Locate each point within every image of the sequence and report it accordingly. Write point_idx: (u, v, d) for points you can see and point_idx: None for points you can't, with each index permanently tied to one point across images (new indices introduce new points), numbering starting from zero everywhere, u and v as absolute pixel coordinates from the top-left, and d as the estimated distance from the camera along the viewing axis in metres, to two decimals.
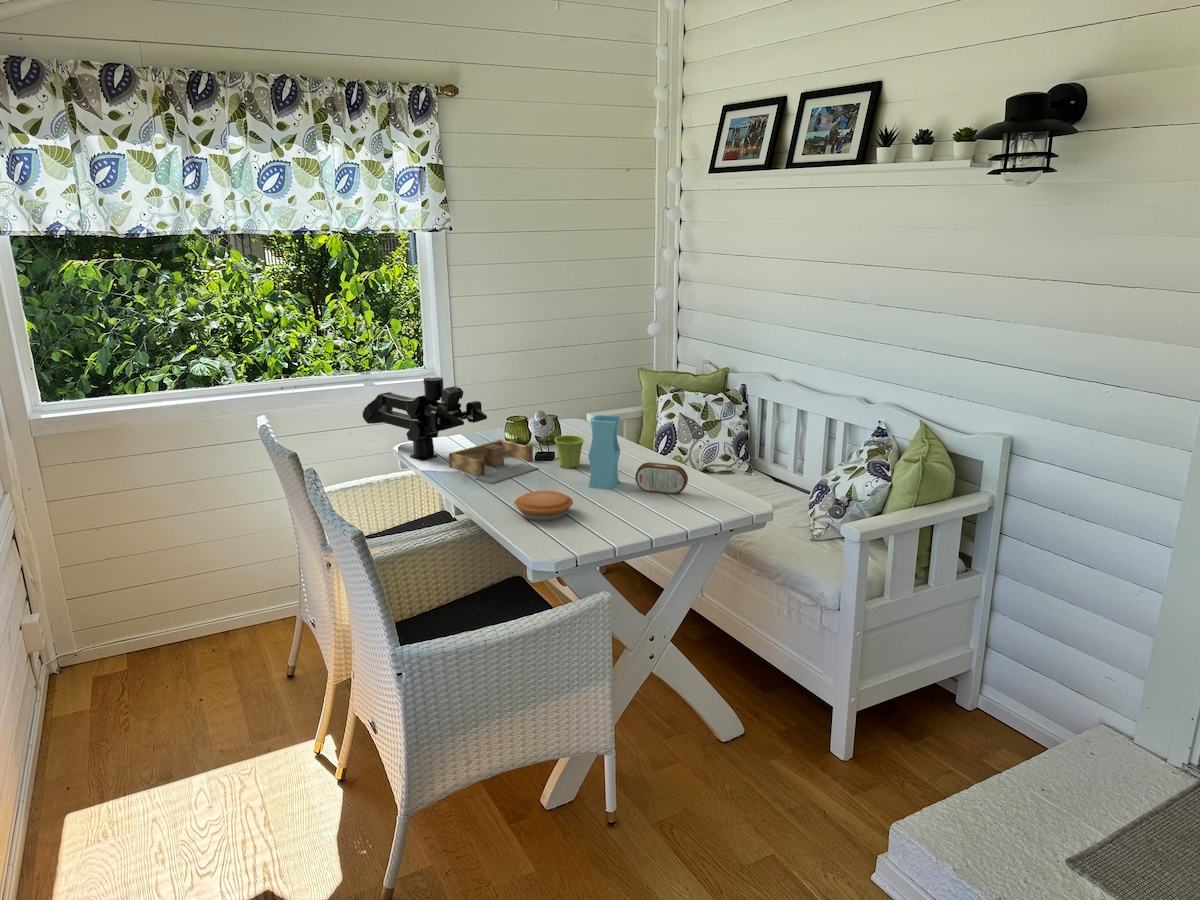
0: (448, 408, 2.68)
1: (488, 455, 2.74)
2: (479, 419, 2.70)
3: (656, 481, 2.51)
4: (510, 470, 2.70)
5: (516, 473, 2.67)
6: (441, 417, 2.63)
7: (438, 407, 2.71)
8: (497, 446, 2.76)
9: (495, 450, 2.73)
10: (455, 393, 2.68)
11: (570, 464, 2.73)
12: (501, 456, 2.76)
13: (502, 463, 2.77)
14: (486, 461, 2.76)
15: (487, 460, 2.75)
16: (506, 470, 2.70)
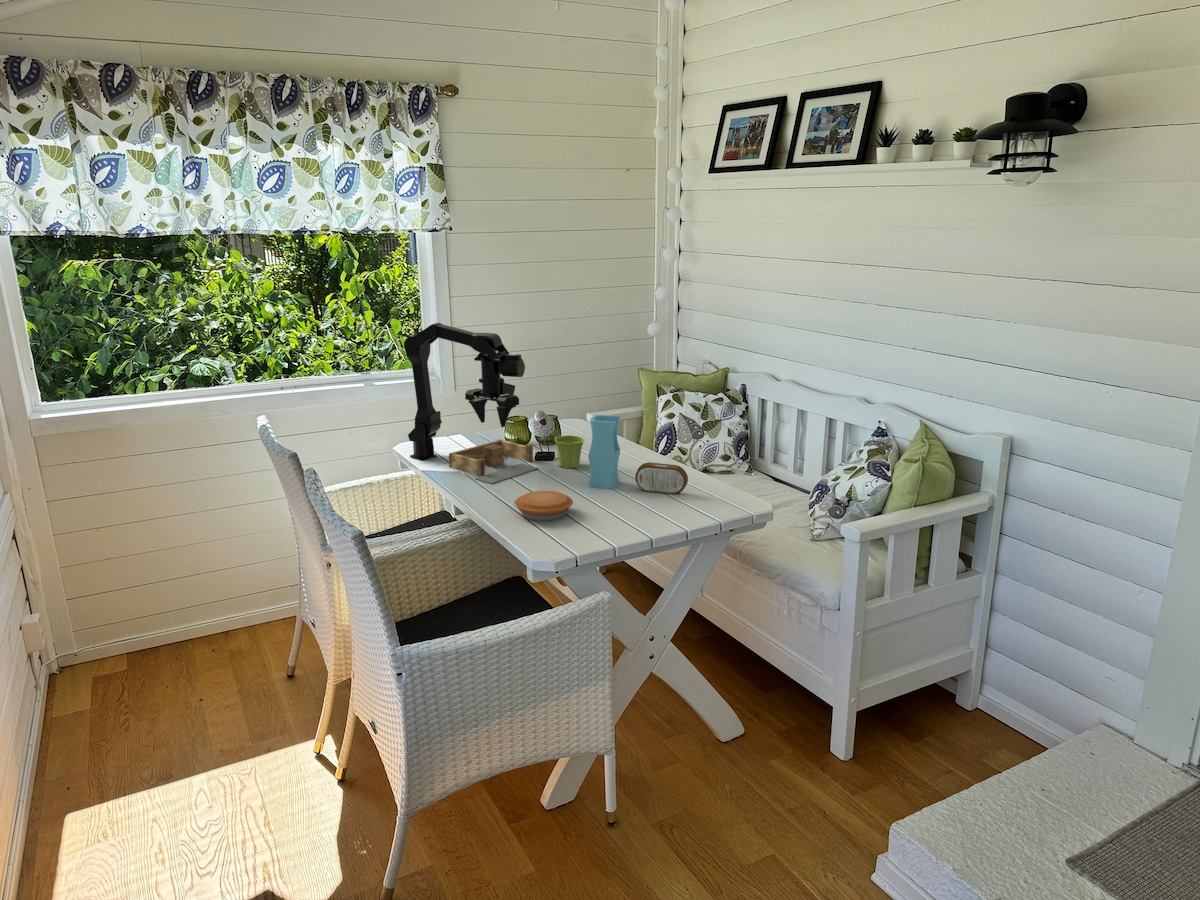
0: None
1: (488, 455, 2.74)
2: (479, 413, 2.74)
3: (656, 481, 2.51)
4: (510, 470, 2.70)
5: (516, 473, 2.67)
6: None
7: (501, 380, 2.70)
8: (497, 446, 2.76)
9: (495, 450, 2.73)
10: (507, 393, 2.76)
11: (570, 464, 2.73)
12: (501, 456, 2.76)
13: (502, 463, 2.77)
14: (486, 461, 2.76)
15: (487, 460, 2.75)
16: (506, 470, 2.70)
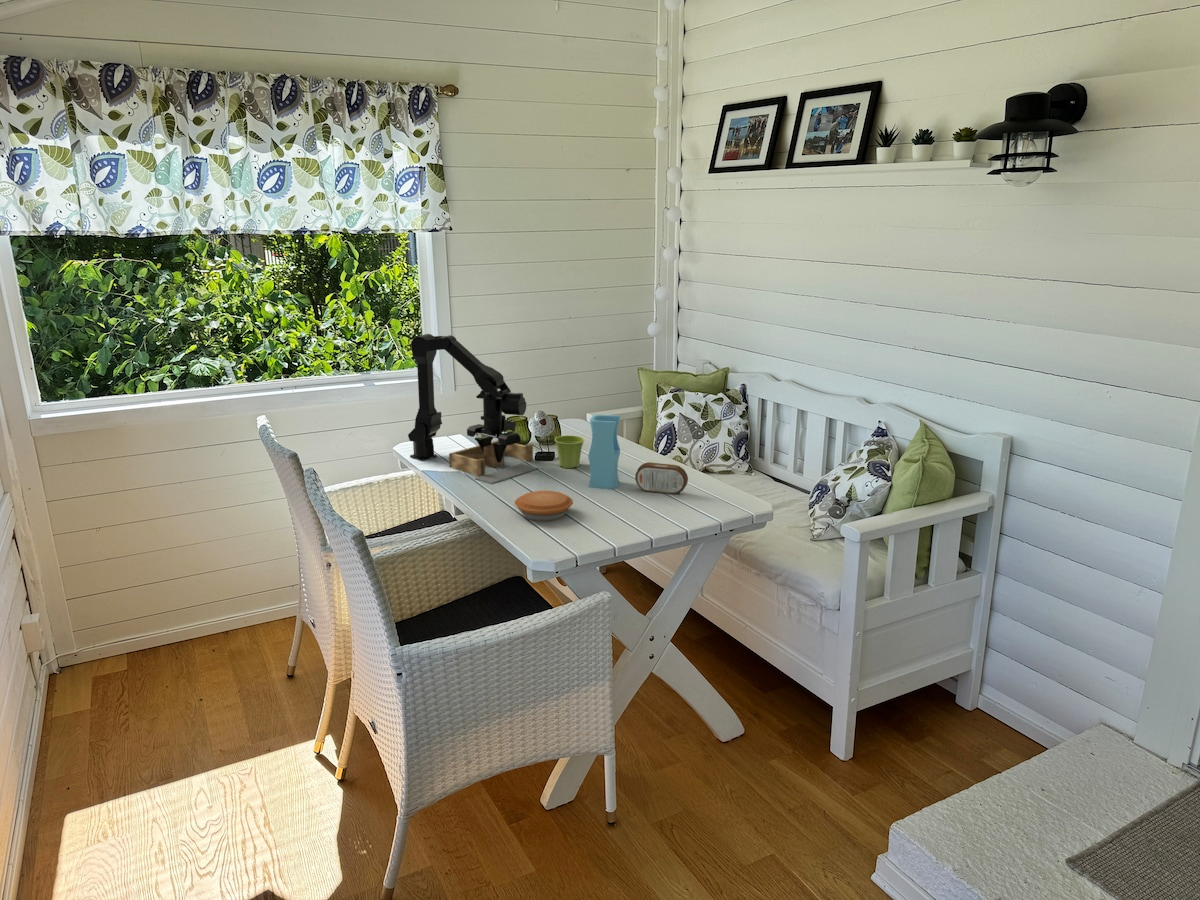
0: None
1: (488, 455, 2.74)
2: None
3: (656, 481, 2.51)
4: (510, 470, 2.70)
5: (516, 473, 2.67)
6: None
7: (503, 417, 2.73)
8: None
9: None
10: None
11: (570, 464, 2.73)
12: None
13: (502, 463, 2.77)
14: (486, 461, 2.76)
15: (487, 460, 2.75)
16: (506, 470, 2.70)
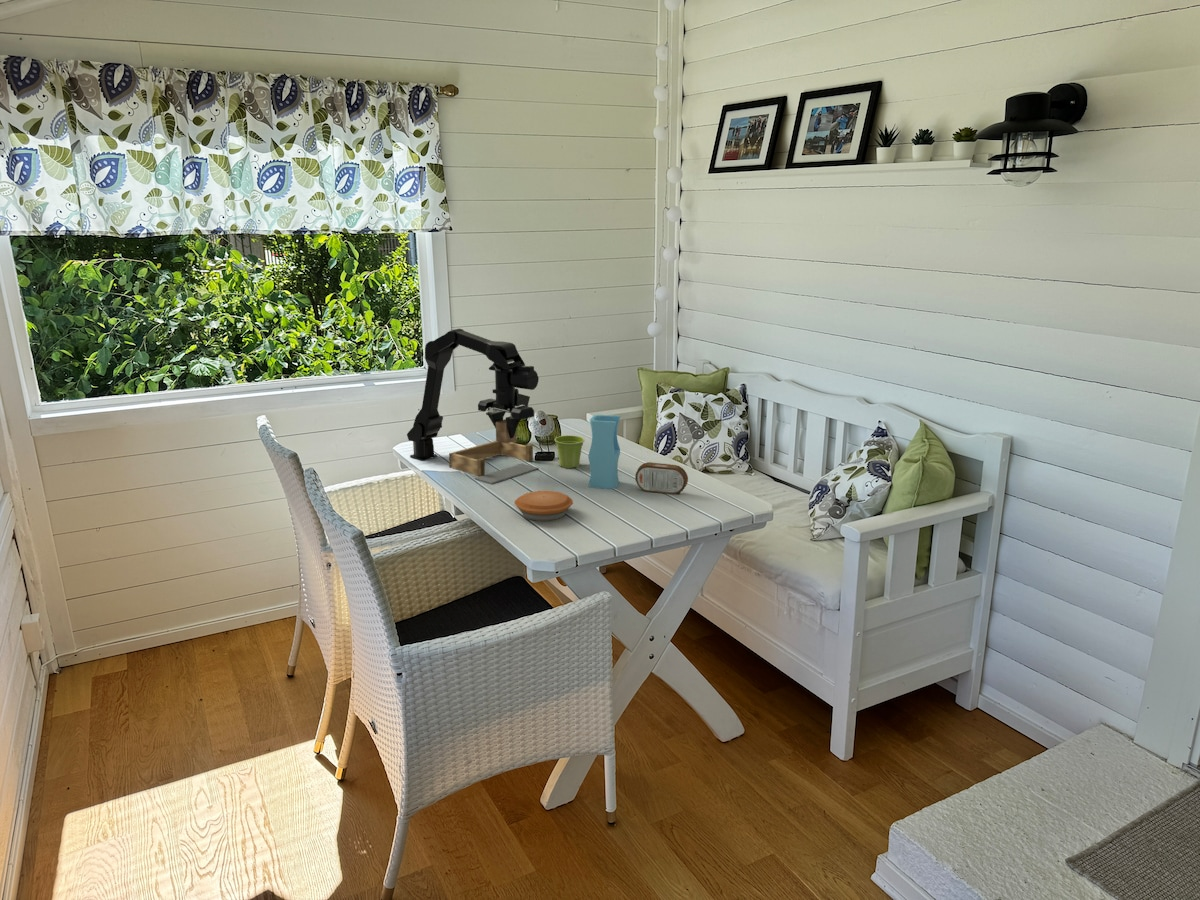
0: None
1: (500, 431, 2.63)
2: None
3: (656, 481, 2.51)
4: (510, 470, 2.70)
5: (516, 473, 2.67)
6: None
7: (516, 391, 2.61)
8: None
9: None
10: (521, 404, 2.67)
11: (570, 464, 2.73)
12: None
13: (515, 439, 2.65)
14: (498, 436, 2.64)
15: (499, 436, 2.63)
16: (506, 470, 2.70)
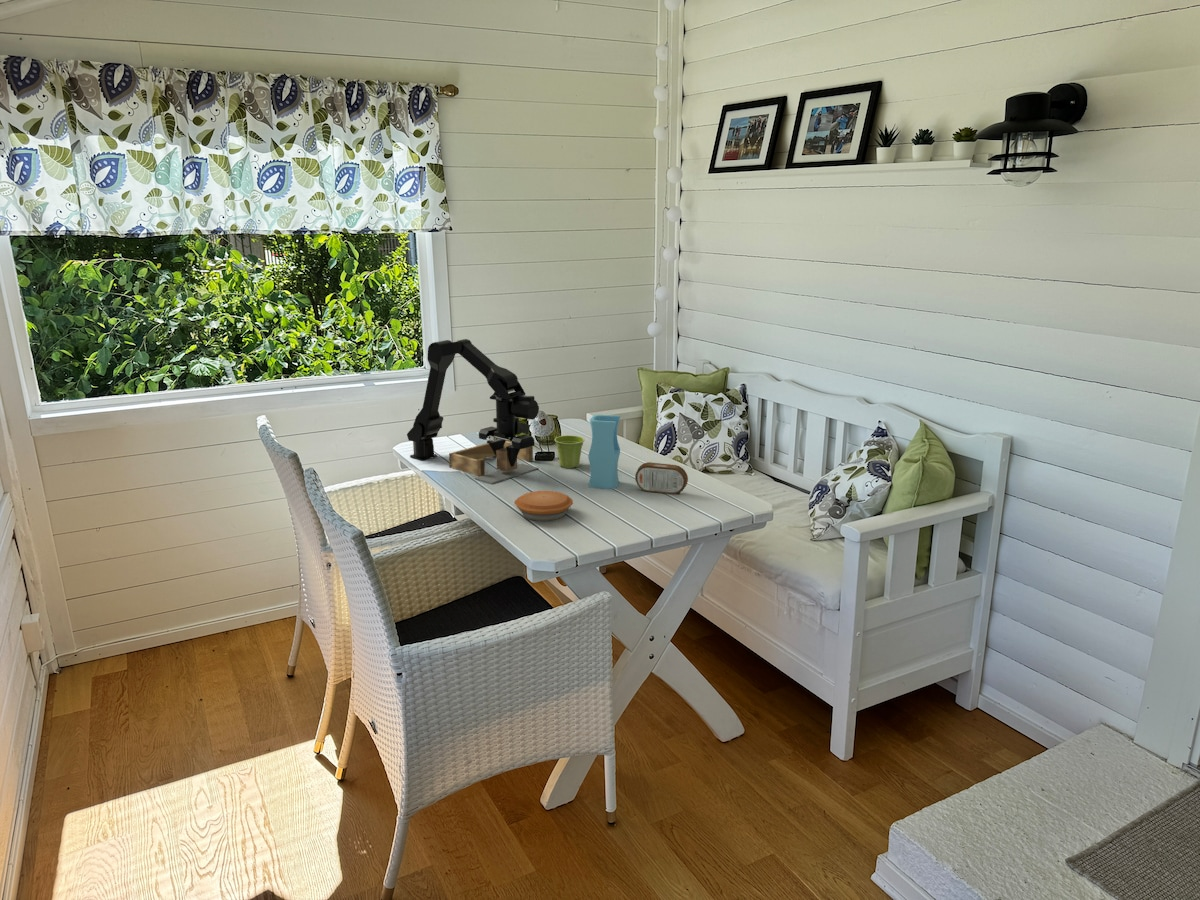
0: None
1: (501, 459, 2.65)
2: None
3: (656, 481, 2.51)
4: None
5: (516, 473, 2.67)
6: None
7: (516, 420, 2.63)
8: None
9: None
10: None
11: (570, 464, 2.73)
12: None
13: (515, 467, 2.67)
14: (499, 465, 2.66)
15: (499, 464, 2.66)
16: None
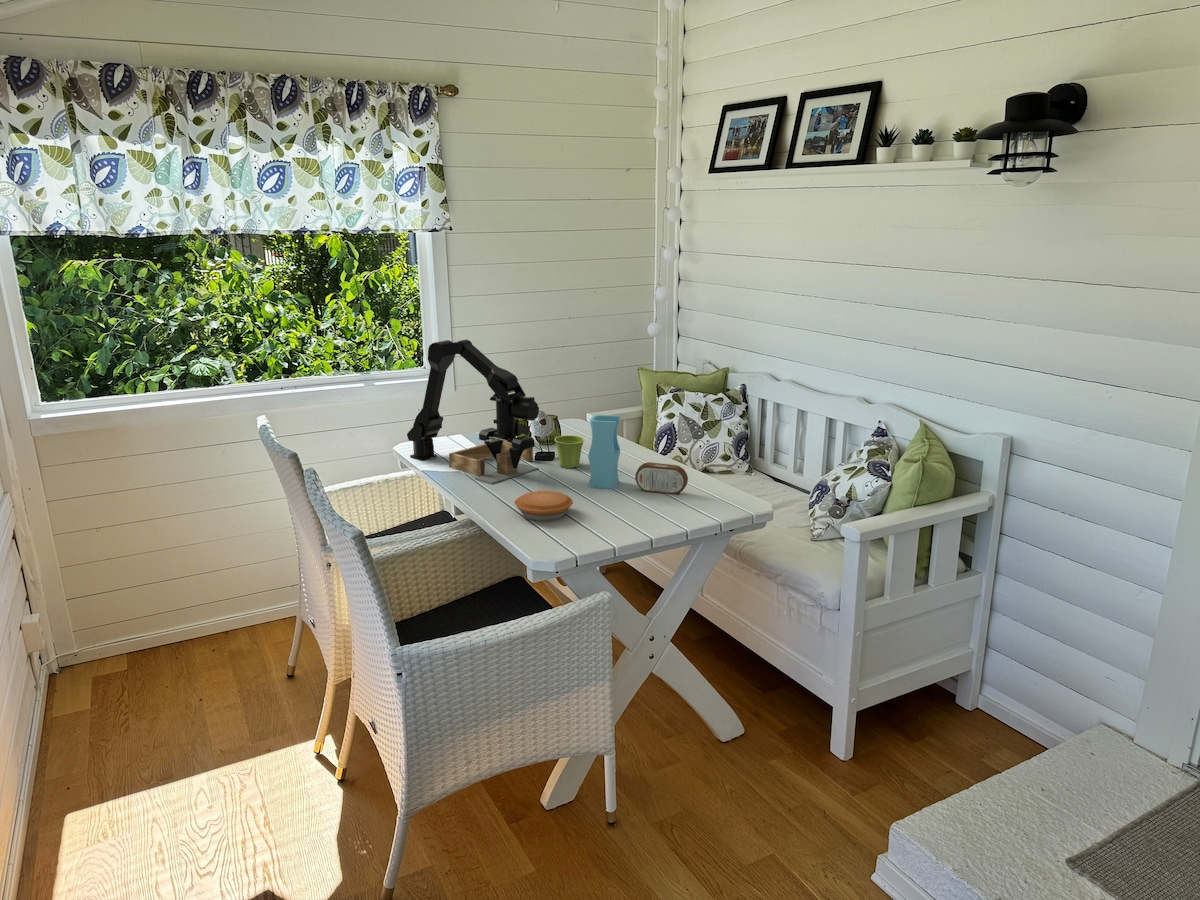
0: None
1: (501, 463, 2.65)
2: (495, 454, 2.68)
3: (656, 481, 2.51)
4: None
5: (516, 473, 2.67)
6: None
7: (516, 421, 2.63)
8: None
9: (508, 457, 2.64)
10: None
11: (570, 464, 2.73)
12: None
13: (515, 471, 2.67)
14: (499, 469, 2.66)
15: (499, 468, 2.66)
16: None
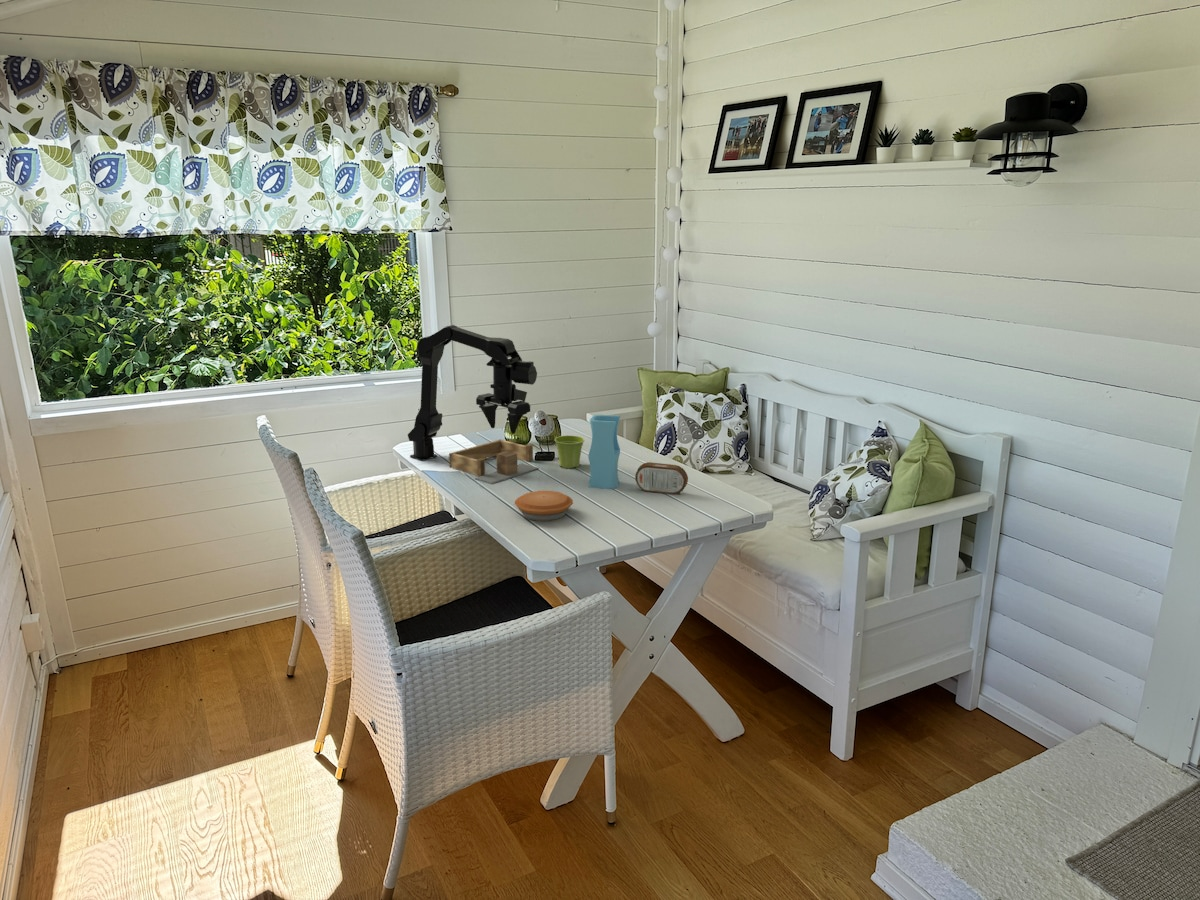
0: None
1: (501, 463, 2.65)
2: (489, 418, 2.72)
3: (656, 481, 2.51)
4: None
5: (516, 473, 2.67)
6: None
7: (513, 386, 2.67)
8: (510, 453, 2.67)
9: (508, 457, 2.64)
10: (518, 399, 2.73)
11: (570, 464, 2.73)
12: (514, 463, 2.66)
13: (515, 471, 2.67)
14: (499, 469, 2.66)
15: (499, 468, 2.66)
16: None
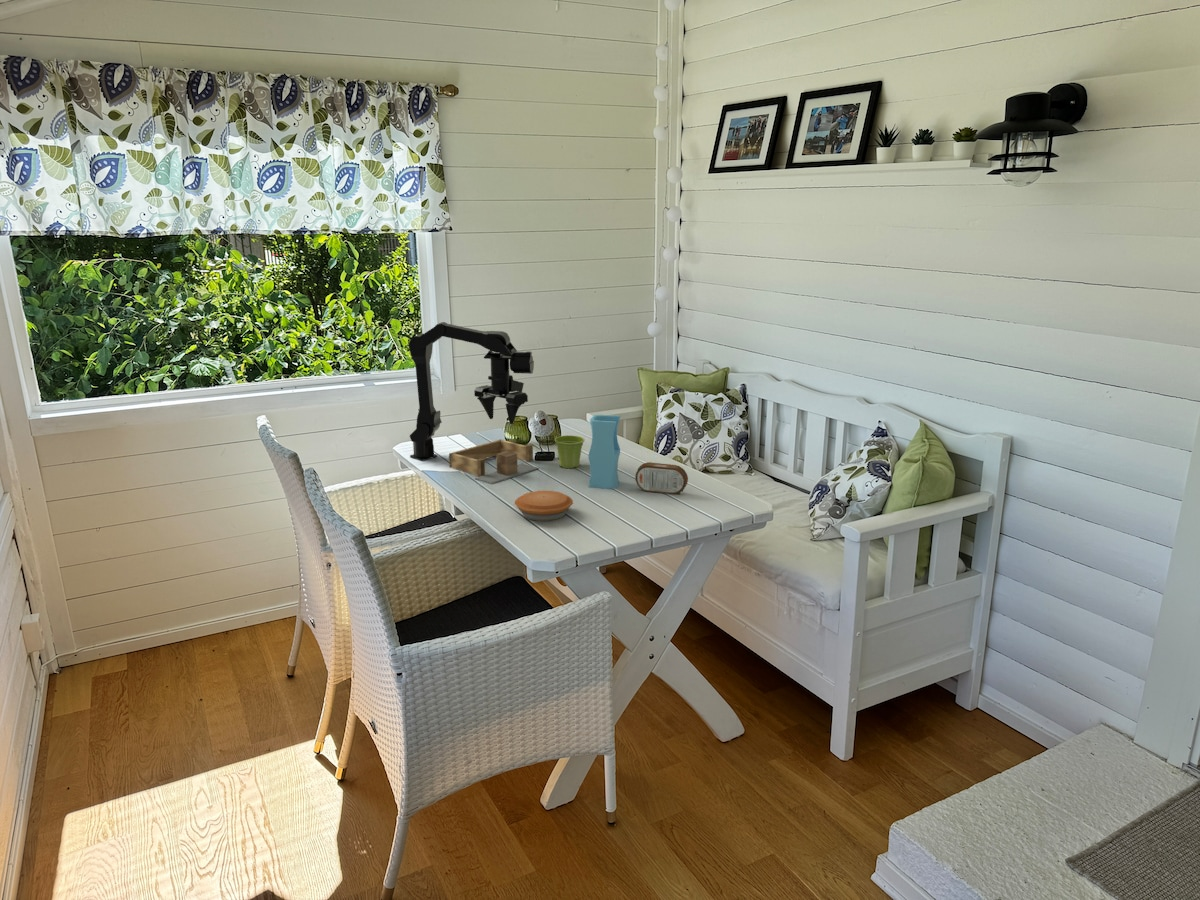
0: None
1: (501, 463, 2.65)
2: (488, 409, 2.79)
3: (656, 481, 2.51)
4: None
5: (516, 473, 2.67)
6: None
7: (510, 377, 2.74)
8: (510, 453, 2.67)
9: (508, 457, 2.64)
10: (515, 390, 2.81)
11: (570, 464, 2.73)
12: (514, 463, 2.66)
13: (515, 471, 2.67)
14: (499, 469, 2.66)
15: (499, 468, 2.66)
16: None
